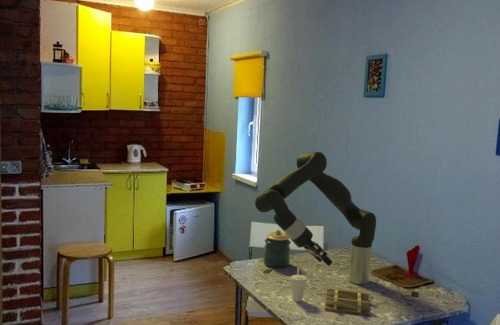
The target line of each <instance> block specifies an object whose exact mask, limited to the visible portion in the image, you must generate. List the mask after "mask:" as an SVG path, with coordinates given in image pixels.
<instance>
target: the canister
mask: <svg viewBox="0 0 500 325" xmlns="http://www.w3.org/2000/svg"><path fill="white" fill-rule="evenodd" d="M264 242H265V245H264V246H263V247H264V252H263V253H264V254H263V264H264V265H265V266H266V267H269V268H273V269H284V268H287V267H289V264H290V256H291V248H290V244H291V242H292V240H291V239H290V238H289V237H288V236H287V235H286V234H285V232H281V230H280V229H276V230H275V231H274V232H270V233H268V234H267V235H266V238H265V239H264Z"/></svg>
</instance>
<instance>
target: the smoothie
mask: <svg viewBox="0 0 500 325" xmlns="http://www.w3.org/2000/svg"><path fill="white" fill-rule="evenodd" d="M296 271H297V272H296V274H293V275H291V276H290V280H291V288H292V289H291V290H292V291H291V292H292V301H293V302H295V303H301V302H302V301H303V297H304V291H305V287H306V286H305V285H306V282H307V281H308V280H307V279H308V278H307V276H305V275H303V274H299V272H300V266H297V270H296Z"/></svg>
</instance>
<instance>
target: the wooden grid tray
mask: <svg viewBox="0 0 500 325" xmlns="http://www.w3.org/2000/svg"><path fill="white" fill-rule="evenodd" d="M369 296H370V293H369V292H364V291H362V290H361V289H360V288H357V291H355V290H350V289H349V290H347V289H341V288H340V289H339V286H338V285H336V286H334V287H333V288H331V287H327V288H326V296H325V306H324V311H326V312H327V311H328V312H336V313H344V314H351V315H357V316H363V317H364V316H366V317H370V303H371V302H370V301H369V299H370V298H369Z"/></svg>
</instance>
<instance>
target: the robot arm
mask: <svg viewBox="0 0 500 325" xmlns="http://www.w3.org/2000/svg"><path fill="white" fill-rule="evenodd" d="M327 161H328V160H327V157H326V156H325V154H324V153H322V152H320V151H312V152H305V153H302V154H300V155H299V156H298V157H297V158H296V167H297V169H295V170H292V171H291V172H288V173H287V174H285V175H283V176H282V177H281V178H280V179H278V180H277V181H276V182H274V183H273V185H271V186H270V187H269V188H267V189H266V190H264V191H262V192H261V193H260V194H258V195H257V197H256V199H255V200H254V201H255V202H254V205H255V209H257V211H258V212H260V213H268V212H270V211H272V210H273V211H274V213H275V215H274V217H273V222H275V224H276V225H277V226H278V227H279V228H280V229H281V230H282V231H283V233H285V234H286V235H287V236H288V237H289V240H290V241H291V242H293V244H294V245H295V246H296V247H297V248H299V249H300V248H303V249H304V250H305V251H306V252H307V253H308V254H310V255H311V256H313V257H314V259H316V260H317V261H318V262H319V263H321V262H322V261H323V263H324V264H326V266H328V267H329V266H331V265H332V264H333V261H332V260H331V258H330V257H329V256H328V253H327V252H326V251H325V250H324V249H323V248H322V247H321V246H320V245H319V243H317V242H316V241H313V240H312V239H313V237H314V234H313V232H312V231H311V230H310V229H309V228H308V227H307V226H306V225H305V224H304V222H302V221H301V220H300V218H298V217H297V216H296V215H295V214H294V213H293V212H292V211H291V210H290V209H289V207H288V204H287V203H286V201H285V199H286V198H288V197H289V196H290V195H291V194H292V193H293V192H295V191H296V190H297V189H299V188H300V187H301V186H302V185H304V184H305V183H306V182H308V181H309V182H311V183H312V184H313V185H314V186H315V187H316V188H317V189H318V190H319V191H320V192H321V193H322V194H323V195H324V196H325V198H326V199H328V201H329V202H330V203H331V204H332V205H334V206H335V208H336V209H338V211H339V212H340V213H341V214H342V215H343V216H344V218H345V219H346V220H347V223H349V225H350V226H351V227H353V228H354V229H355V230H359V234H358V236H357V235H356V236H352V238H351V242H350V243H351V244H350V252H349V253H350V256H349V266H348V267H349V270H348V281H349V282H350V283H352V284H356V285H367V284H369V282H370V273H371V260H372V259H371V258H372V248H373V242H374V240H375V235H376V234H375V233H376V228H377V217H376V215H375V214H374V213H373V212H371V211H368V210H364V209H361V208H360V207H358V206H357V205H356V204H355V203H354V201H352V194H351V192H350V191H349V189H348V188H347V187H346V186H345V184H344V183H343V182H342V181H340V180H339V179H337V178H336V177H333V176H332V175H329V174H327V173H325V170H326V169H327V164H328V162H327Z"/></svg>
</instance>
